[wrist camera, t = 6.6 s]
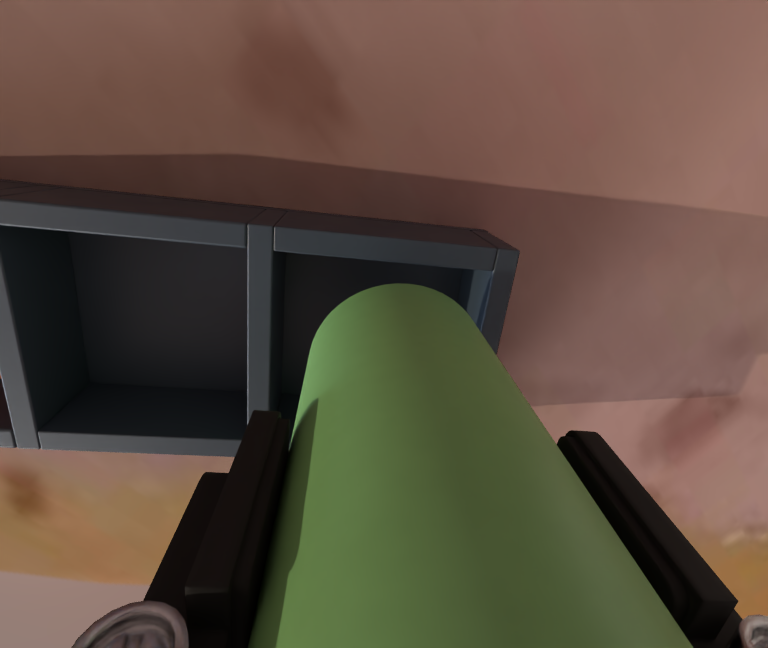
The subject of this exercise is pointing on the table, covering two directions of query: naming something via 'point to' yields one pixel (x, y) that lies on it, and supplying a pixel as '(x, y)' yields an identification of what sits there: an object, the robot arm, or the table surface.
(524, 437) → the bottle
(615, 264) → the table surface
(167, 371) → the tray
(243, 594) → the robot arm
